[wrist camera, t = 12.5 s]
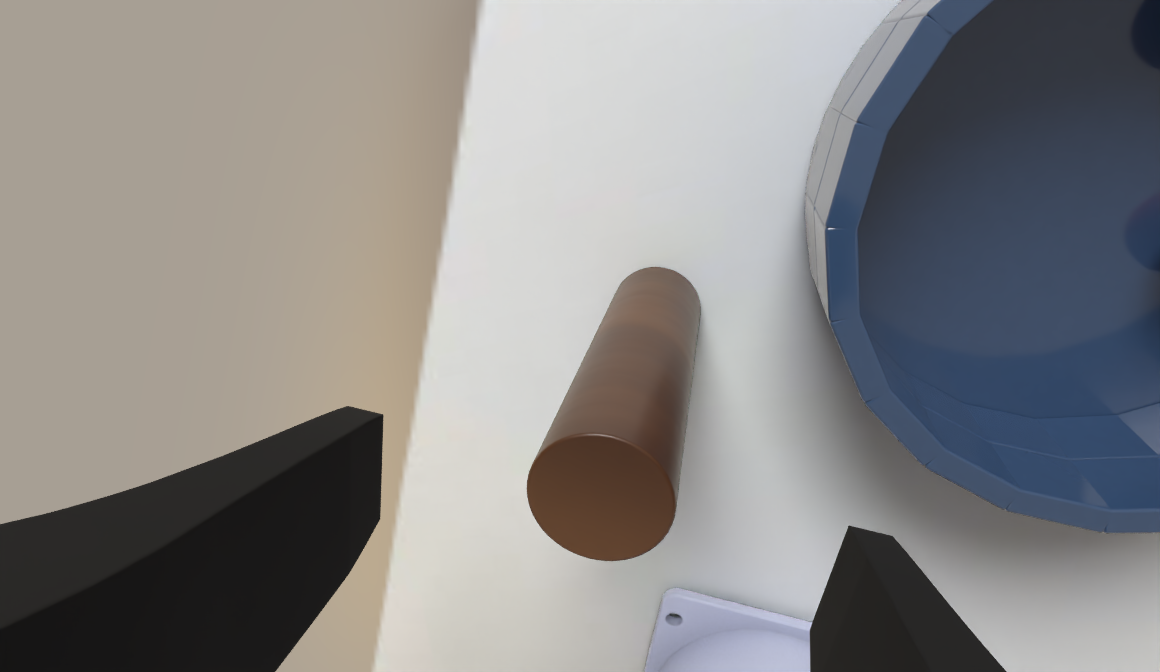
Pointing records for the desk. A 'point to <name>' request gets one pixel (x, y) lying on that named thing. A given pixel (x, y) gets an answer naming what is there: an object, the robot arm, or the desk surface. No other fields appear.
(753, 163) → the desk surface
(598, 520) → the stirring stick
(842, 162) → the bowl
